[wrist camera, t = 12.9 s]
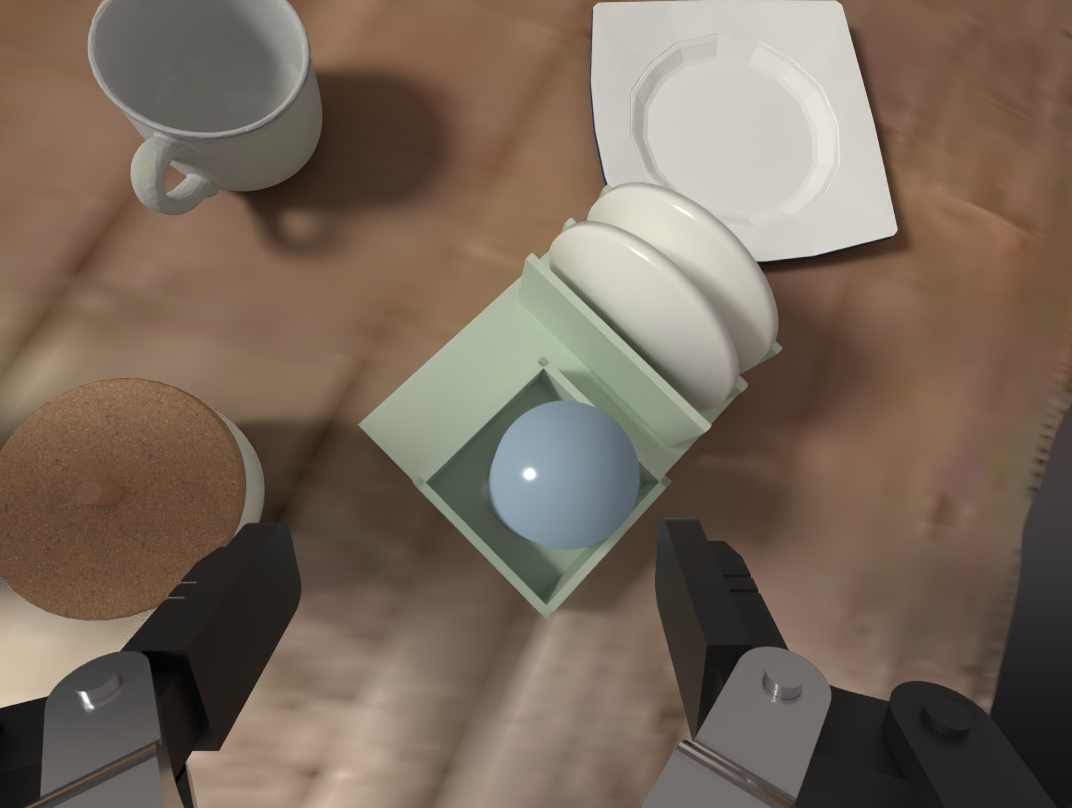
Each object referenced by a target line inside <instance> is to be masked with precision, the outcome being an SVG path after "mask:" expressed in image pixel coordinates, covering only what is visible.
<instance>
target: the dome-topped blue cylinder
mask: <svg viewBox="0 0 1072 808" xmlns="http://www.w3.org/2000/svg"><path fill="white" fill-rule="evenodd" d="M639 484H640V471H639V463H638V458H637V454H636V452H635V449H634V446H633V444H632V442H631V440H630V438H629V437H628V435H627V434H626V432H625V431H624V429H623V428H622V427H621V426H620V425H619V424H618V423H617V422H616V421H615V420H614V419H613V418H612V417H611V416H609V415H608V414H606V413H605V412H603V411H602V410H600V409H598V408H596V407H594V406H591V405H588V404H585V403H581V402H576V401H555V402H549V403H545V404H542V405H539V406H537V407H535V408H533V409H531V410H529V411H527V412H526V413H524V414H523V415H522V416H520V417H519V418H518V419H517V420H516V421H515V422H514V423H513V424H512V425H511V426H510V427H509V428H508V430H507V431H506V433H505V434H504V436H503V438H502V440H501V442H500V444H499V446H498V449H497V451H496V454H495V457H494V459H493V462H492V465H491V467H490V470H489V473H488V478H487V497H488V501H489V504H490V507H491V509H492V511H493V513H494V515H495V516H496V518H497V519H498V520H499V522H500V523H501V524H502V525H503V526H504V527H506V528H507V529H508V530H510V531H511V532H513V533H515V534H517V535H519V536H521V537H524V538H526V539H529V540H531V541H533V542H536V543H538V544H541V545H544V546H547V547H550V548H555V549H563V550H572V549H581V548H585V547H589V546H592V545H595V544H597V543H599V542H601V541H603V540H605V539H606V538H608V537H609V536H610V535H612V534H613V533H614V532H615V531H616V530H618V529H619V528H620V527H621V525H622V524H623V523H624V522H625V520H626V519H627V518H628V516H629V514H630V513H631V511H632V509H633V506H634V504H635V502H636V498H637V495H638V490H639Z"/></svg>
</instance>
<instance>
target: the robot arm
mask: <svg viewBox="0 0 1072 808" xmlns="http://www.w3.org/2000/svg"><path fill="white" fill-rule="evenodd" d="M655 589H656V599H657V605H658V609H659V613H660V617H661V621H662V625H663V628H664V632H665V636H666V640H667V644H668V648H669V652H670V655H671V659H672V663H673V667H674V671H675V675H676V679H677V682H678V686H679V690H680V694H681V698H682V702H683V706H684V710H685V713H686V717H687V721H688V725H689V729H690V733H691V737H692V740H693V742H692V743H690V742H688V741H687V740H683V741H682V742H681V743H680V744H679V745H678V746H677V748H676V749H675V751H674V752H673V754H672V755H671V757H670V759H669V761H668V762H667V764H666V766H665V767H664V769H663V771H662V773H661V774H660V776H659V778H658V779H657V781H656V783H655V784H654V786H653V788H652V790H651V791H650V793H649V795H648V796H647V798H646V800H645V802H644V803H643V805H642V807H641V808H1057V807H1056V805H1055V804H1054V803H1053V801H1052V800H1051V799H1050V797H1049V796H1048V794H1047V793H1046V792H1045V790H1044V789H1043V788H1042V786H1041V785H1040V784H1039V782H1038V781H1037V780H1036V778H1035V777H1034V775H1033V774H1032V773H1031V771H1030V770H1029V769H1028V767H1027V766H1026V765H1025V763H1024V762H1023V760H1022V759H1021V758H1020V757H1019V755H1018V754H1017V753H1016V751H1015V750H1014V748H1013V747H1012V746H1011V744H1010V743H1009V741H1008V740H1007V739H1006V738H1005V736H1004V735H1003V733H1002V732H1001V731H1000V729H999V728H998V727H997V725H996V724H995V723H994V721H993V720H992V719H991V718H990V717H989V715H988V714H987V713H986V712H984V711H983V710H982V709H981V708H980V707H979V706H978V705H976V704H975V703H974V702H972V701H971V700H969V699H968V698H966V697H965V696H963V695H961V694H959V693H958V692H956V691H954V690H951V689H949V688H947V687H944V686H941V685H938V684H934V683H930V682H923V681H910V682H905V683H902V684H900V685H898V686H897V687H896V688H894V690H893V691H892V693H891V696H890V700H889V701H885V700H881V699H877V698H873V697H869V696H865V695H862V694H858V693H854V692H850V691H846V690H843V689H839V688H836V687H834V686H831V685H829V684H828V682H827V680H826V678H825V677H824V675H823V674H822V672H821V671H820V670H819V669H818V668H817V667H816V666H815V665H813V664H812V663H811V662H810V661H808V660H807V659H805V658H804V657H802V656H800V655H798V654H796V653H794V652H791V651H789V650H788V648H787V646H786V644H785V642H784V640H783V638H782V636H781V634H780V632H779V630H778V628H777V626H776V624H775V622H774V620H773V618H772V616H771V614H770V612H769V610H768V608H767V606H766V604H765V602H764V600H763V598H762V596H761V594H760V593H758V588H757V586H756V584H755V582H754V580H753V578H751V574H750V572H749V570H748V568H747V566H746V564H745V562H744V560H743V558H742V556H741V555H739V554H738V553H737V552H736V551H735V550H734V549H733V548H731V547H730V546H729V545H728V544H727V543H726V542H725V541H707V538H706V536H705V534H704V531H703V529H702V527H701V524H700V522H699V520H698V519H697V517H662V518H661V519H660V523H659V532H658V546H657V559H656V573H655ZM300 595H301V580H300V575H299V570H298V566H297V561H296V557H295V552H294V548H293V543H292V539H291V534H290V530H289V528H288V526H287V525H286V524H285V523H283V522H275V523H247V524H245V525H244V526H243V527H242V528H241V529H240V531H239V532H238V533H237V534H236V535H235V537H234V538H233V539H232V540H231V541H230V543H229V544H228V545H227V546H226V547H219V548H217V549H216V550H214V551H213V552H211V553H210V554H208V555H207V556H205V557H204V558H203V559H201V560H200V561H198V562H197V563H196V564H195V565H194V566H193V567H192V568H191V570H190V571H189V572H188V573H187V574H186V575H185V577H184V578H183V579H182V580H181V584H178V585H177V586H176V587H175V588H174V589H173V590H172V592H171V593H170V594H169V595H168V599H167V600H164V601H163V602H162V603H161V604H160V605H159V607H158V608H157V609H156V610H155V611H154V612H153V614H152V615H151V616H150V617H149V618H148V619H147V621H146V622H145V623H144V624H143V625H142V626H141V628H140V629H139V630H138V631H137V632H136V633H135V634H134V636H133V637H132V638H131V639H130V640H129V641H128V643H127V644H126V645H125V646H124V647H123V648H122V650H121V651H120V652H114V653H111V654H107V655H104V656H101V657H98V658H96V659H94V660H91V661H89V662H87V663H86V664H84V665H82V666H80V667H79V668H77V669H75V670H74V671H72V672H71V673H70V674H69V675H67V676H66V677H65V678H64V679H63V680H61V681H60V682H59V683H58V684H57V686H56V687H55V688H54V689H53V690H52V692H51V693H50V695H49V696H47V697H43V698H39V699H35V700H31V701H27V702H23V703H19V704H15V705H11V706H7V707H3V708H0V808H198V807H197V802H196V797H195V792H194V787H193V782H192V777H191V773H190V770H189V767H188V765H187V762H186V761H187V759H188V757H189V756H190V754H191V752H192V751H219V750H220V748H221V746H222V745H223V743H224V741H225V739H226V737H227V735H228V734H229V732H230V730H231V728H232V726H233V725H234V723H235V721H236V719H237V717H238V715H239V714H240V712H241V710H242V708H243V706H244V705H245V703H246V701H247V699H248V697H249V695H250V694H251V692H252V690H253V688H254V686H255V684H256V683H257V681H258V679H259V677H260V675H261V674H262V672H263V670H264V668H265V666H266V664H267V663H268V661H269V659H270V657H271V655H272V654H273V652H274V650H275V648H276V646H277V644H278V643H279V641H280V639H281V637H282V635H283V633H284V632H285V630H286V628H287V626H288V624H289V623H290V621H291V619H292V617H293V615H294V613H295V612H296V610H297V607H298V604H299V600H300Z"/></svg>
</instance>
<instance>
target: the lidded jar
mask: <svg viewBox="0 0 1072 808" xmlns="http://www.w3.org/2000/svg"><path fill="white" fill-rule="evenodd" d="M264 495H265V487H264V476H263V472H262V468H261V464H260V461H259V459H258V457H257V454H256V452H255V450H254V449H253V447H252V446H251V444H250V442H249V441H248V439H247V438H246V436H245V435H244V434H243V433H242V432H241V431H240V430H239V428H238V427H237V426H236V425H235V424H234V423H233V422H231V421H230V420H229V419H228V418H226V417H225V416H224V415H222V414H221V413H220V412H218V411H217V410H216V409H214V408H212V407H210V406H208V405H206V404H205V403H203V402H202V401H201V400H199V399H198V398H196V397H194V396H192V395H190V394H188V393H186V392H184V391H183V390H180V389H178V388H176V387H173V386H170V385H167V384H163V383H160V382H156V381H150V380H145V379H129V378H120V379H111V380H103V381H98V382H94V383H91V384H87V385H83V386H80V387H78V388H75V389H73V390H71V391H68V392H66V393H63V394H62V395H60V396H58V397H56V398H55V399H53V400H51V401H49V402H48V403H46V404H45V405H43V406H42V407H41V408H39V409H38V410H37V411H36V412H34V413H33V414H32V415H30V416H29V417H28V418H27V419H26V420H25V421H24V422H23V423H22V424H21V425H20V426H19V427H18V428H17V429H16V430H15V431H14V433H13V434H12V435H11V437H10V438H9V439H8V440H7V442H6V443H5V444H4V446H3V447H2V448H1V450H0V575H1V576H2V577H3V579H4V580H5V581H6V582H7V583H8V584H9V585H10V586H11V588H12V589H13V590H14V591H15V592H17V593H18V594H19V595H20V596H22V597H23V598H24V599H26V600H27V601H28V602H30V603H31V604H33V605H35V606H37V607H39V608H41V609H43V610H45V611H47V612H50V613H53V614H56V615H60V616H63V617H66V618H73V619H80V620H110V619H116V618H122V617H128V616H132V615H135V614H138V613H141V612H145V611H148V610H151V609H154V608H157V607H159V605H160V604H161V603H162V602H163V601H164V600H167V599H168V595H169V594H170V593H171V592H172V590H173V589H174V588H175V587H176V586H177V585H178V584H181V580H182V579H183V578H184V577H185V575H186V574H187V573H188V572H189V571H190V570H191V568H192V567H193V566H194V565H195V564H196V563H197V562H198V561H200V560H201V559H203V558H204V557H205V556H207V555H208V554H210V553H211V552H213V551H214V550H216V549H217V548H219V547H226V546H227V545H228V544H229V543H230V541H231V540H232V539H233V538H234V537H235V535H236V534H237V533H238V532H239V531H240V529H241V528H242V527H243V526H244V525H245V524H247V523H259V521H260V518H261V514H262V510H263V506H264Z"/></svg>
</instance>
